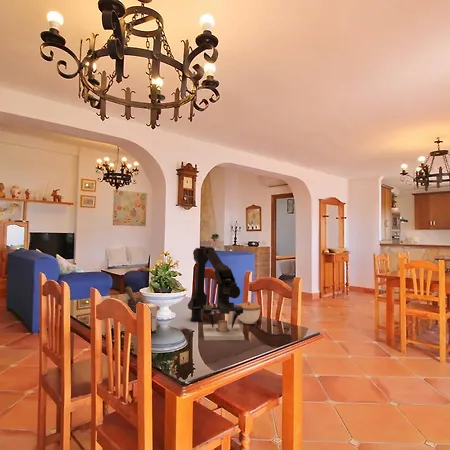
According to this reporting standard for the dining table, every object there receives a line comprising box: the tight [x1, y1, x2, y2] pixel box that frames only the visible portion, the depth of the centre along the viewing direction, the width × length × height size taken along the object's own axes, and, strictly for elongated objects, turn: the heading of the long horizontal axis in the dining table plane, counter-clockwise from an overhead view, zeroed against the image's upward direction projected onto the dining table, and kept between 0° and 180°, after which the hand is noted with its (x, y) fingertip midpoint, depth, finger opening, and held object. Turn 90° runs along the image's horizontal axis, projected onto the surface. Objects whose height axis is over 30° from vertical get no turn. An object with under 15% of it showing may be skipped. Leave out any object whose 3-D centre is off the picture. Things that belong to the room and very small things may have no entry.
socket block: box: [202, 323, 245, 341], centre depth 154 cm, size 18×18×2 cm
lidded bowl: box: [237, 301, 261, 325], centre depth 176 cm, size 13×13×11 cm
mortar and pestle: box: [124, 286, 145, 313], centre depth 167 cm, size 12×9×20 cm
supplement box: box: [146, 303, 158, 331], centre depth 156 cm, size 7×7×13 cm
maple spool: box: [217, 319, 228, 332], centre depth 154 cm, size 4×4×6 cm
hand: (222, 327), depth 154 cm, fingers open, 9 cm apart
